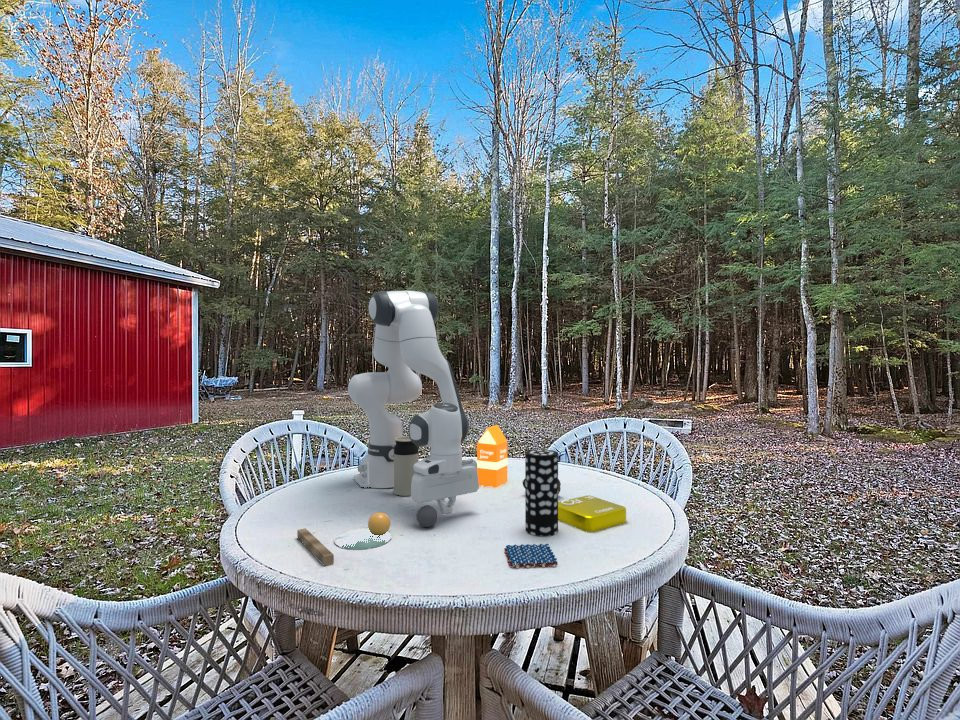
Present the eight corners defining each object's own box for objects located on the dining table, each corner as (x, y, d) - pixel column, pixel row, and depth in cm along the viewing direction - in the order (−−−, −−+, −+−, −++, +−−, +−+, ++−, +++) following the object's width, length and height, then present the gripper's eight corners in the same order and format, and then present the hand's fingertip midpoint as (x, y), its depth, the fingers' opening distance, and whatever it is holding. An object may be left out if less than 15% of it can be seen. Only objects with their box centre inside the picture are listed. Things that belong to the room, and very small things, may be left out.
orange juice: (476, 484, 170) (476, 427, 170) (488, 479, 178) (488, 424, 178) (497, 487, 167) (497, 428, 166) (507, 481, 174) (507, 425, 174)
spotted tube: (536, 522, 132) (536, 448, 132) (564, 529, 127) (564, 452, 126) (519, 531, 126) (518, 453, 125) (547, 539, 120) (547, 457, 120)
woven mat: (503, 552, 114) (503, 543, 114) (548, 550, 115) (548, 542, 115) (508, 572, 103) (508, 562, 103) (558, 570, 104) (558, 560, 104)
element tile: (589, 535, 124) (589, 516, 124) (550, 518, 137) (550, 501, 137) (629, 523, 132) (629, 506, 132) (588, 509, 145) (588, 492, 145)
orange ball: (387, 511, 128) (381, 533, 127) (368, 508, 125) (361, 530, 124) (396, 517, 123) (390, 539, 122) (377, 513, 120) (370, 536, 119)
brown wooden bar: (297, 538, 121) (297, 530, 121) (305, 536, 122) (305, 528, 122) (324, 566, 105) (324, 556, 105) (333, 563, 106) (333, 554, 106)
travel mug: (416, 496, 156) (416, 440, 156) (391, 496, 156) (391, 440, 156) (420, 489, 164) (420, 436, 164) (396, 489, 164) (396, 436, 164)
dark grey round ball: (429, 497, 131) (427, 512, 134) (412, 507, 128) (411, 522, 130) (442, 509, 128) (441, 524, 131) (426, 519, 124) (424, 535, 127)
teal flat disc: (325, 536, 122) (325, 535, 122) (377, 524, 131) (377, 523, 131) (346, 554, 111) (346, 553, 111) (402, 540, 119) (402, 539, 119)
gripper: (470, 456, 144) (470, 503, 144) (407, 465, 131) (408, 517, 132) (483, 459, 138) (483, 508, 139) (419, 470, 126) (419, 523, 127)
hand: (446, 513), depth 135 cm, fingers closed
